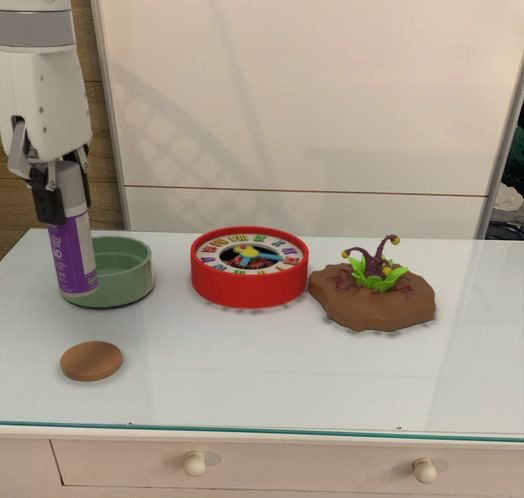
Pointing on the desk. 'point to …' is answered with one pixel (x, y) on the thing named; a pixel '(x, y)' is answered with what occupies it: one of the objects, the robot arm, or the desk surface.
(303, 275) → the toy clock
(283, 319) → the desk surface
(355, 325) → the plant
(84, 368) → the coaster
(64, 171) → the container
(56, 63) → the robot arm
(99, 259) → the bowl
